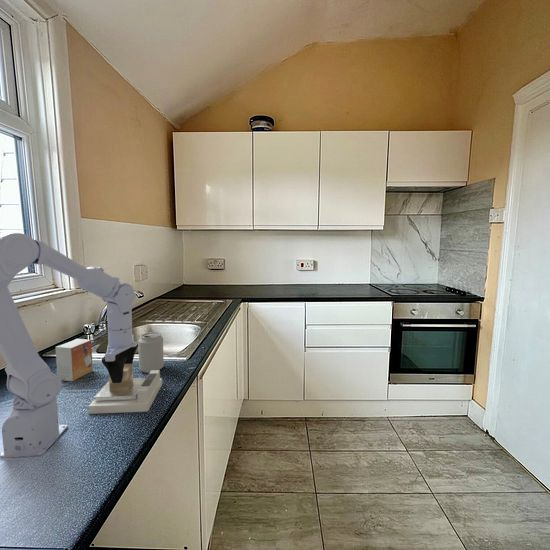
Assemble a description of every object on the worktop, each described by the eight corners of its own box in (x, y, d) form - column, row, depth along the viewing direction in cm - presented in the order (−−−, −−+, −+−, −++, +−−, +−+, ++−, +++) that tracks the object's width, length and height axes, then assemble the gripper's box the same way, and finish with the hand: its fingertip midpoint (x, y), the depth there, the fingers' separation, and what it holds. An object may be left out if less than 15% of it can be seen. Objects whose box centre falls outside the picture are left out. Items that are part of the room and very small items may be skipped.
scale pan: (135, 399, 78) (135, 395, 78) (94, 400, 77) (94, 397, 77) (147, 381, 88) (147, 377, 88) (111, 382, 86) (110, 378, 86)
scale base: (147, 411, 76) (147, 391, 76) (88, 413, 75) (87, 393, 74) (162, 384, 90) (161, 367, 90) (112, 386, 89) (111, 368, 88)
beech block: (127, 390, 80) (127, 370, 79) (109, 391, 79) (108, 371, 79) (133, 382, 84) (132, 363, 84) (116, 383, 84) (115, 364, 83)
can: (136, 368, 101) (135, 333, 99) (159, 362, 106) (158, 329, 104) (143, 376, 95) (142, 339, 94) (167, 370, 100) (166, 335, 99)
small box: (72, 382, 91) (70, 348, 89) (56, 380, 92) (54, 346, 90) (93, 370, 98) (91, 339, 97) (78, 369, 99) (77, 338, 98)
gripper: (125, 336, 73) (127, 389, 75) (144, 319, 88) (145, 364, 89) (94, 336, 72) (97, 390, 74) (118, 320, 87) (120, 365, 88)
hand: (122, 376), depth 82 cm, fingers open, 6 cm apart
